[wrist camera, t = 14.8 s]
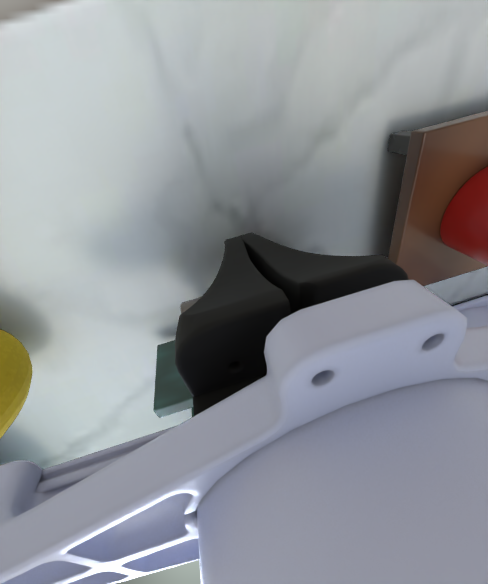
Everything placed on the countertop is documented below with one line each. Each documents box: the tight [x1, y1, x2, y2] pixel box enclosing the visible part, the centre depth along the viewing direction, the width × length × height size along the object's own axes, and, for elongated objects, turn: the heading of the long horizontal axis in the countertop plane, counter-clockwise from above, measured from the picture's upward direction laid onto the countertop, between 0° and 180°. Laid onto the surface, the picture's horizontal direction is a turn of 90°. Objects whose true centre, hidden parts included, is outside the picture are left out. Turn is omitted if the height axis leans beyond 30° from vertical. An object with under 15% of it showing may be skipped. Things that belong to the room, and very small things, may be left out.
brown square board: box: [388, 111, 488, 286], centre depth 15 cm, size 9×9×2 cm
